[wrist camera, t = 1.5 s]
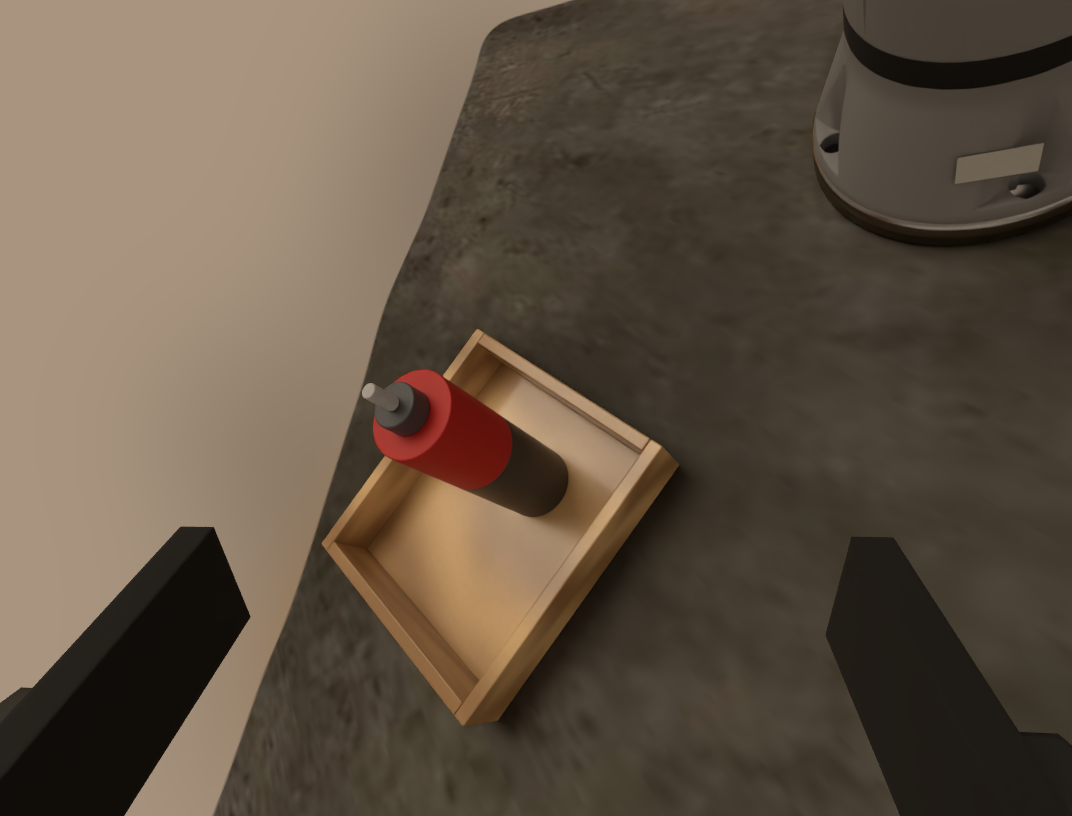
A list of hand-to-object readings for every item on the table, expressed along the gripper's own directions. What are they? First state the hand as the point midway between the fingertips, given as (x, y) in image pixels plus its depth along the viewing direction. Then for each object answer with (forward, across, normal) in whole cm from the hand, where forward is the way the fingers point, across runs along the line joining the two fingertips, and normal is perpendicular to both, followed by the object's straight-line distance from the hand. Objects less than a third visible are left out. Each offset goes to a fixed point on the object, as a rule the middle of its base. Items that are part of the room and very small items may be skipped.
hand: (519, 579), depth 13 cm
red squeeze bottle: (+21, -2, -13) cm, 24 cm away
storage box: (+20, -4, -15) cm, 25 cm away
